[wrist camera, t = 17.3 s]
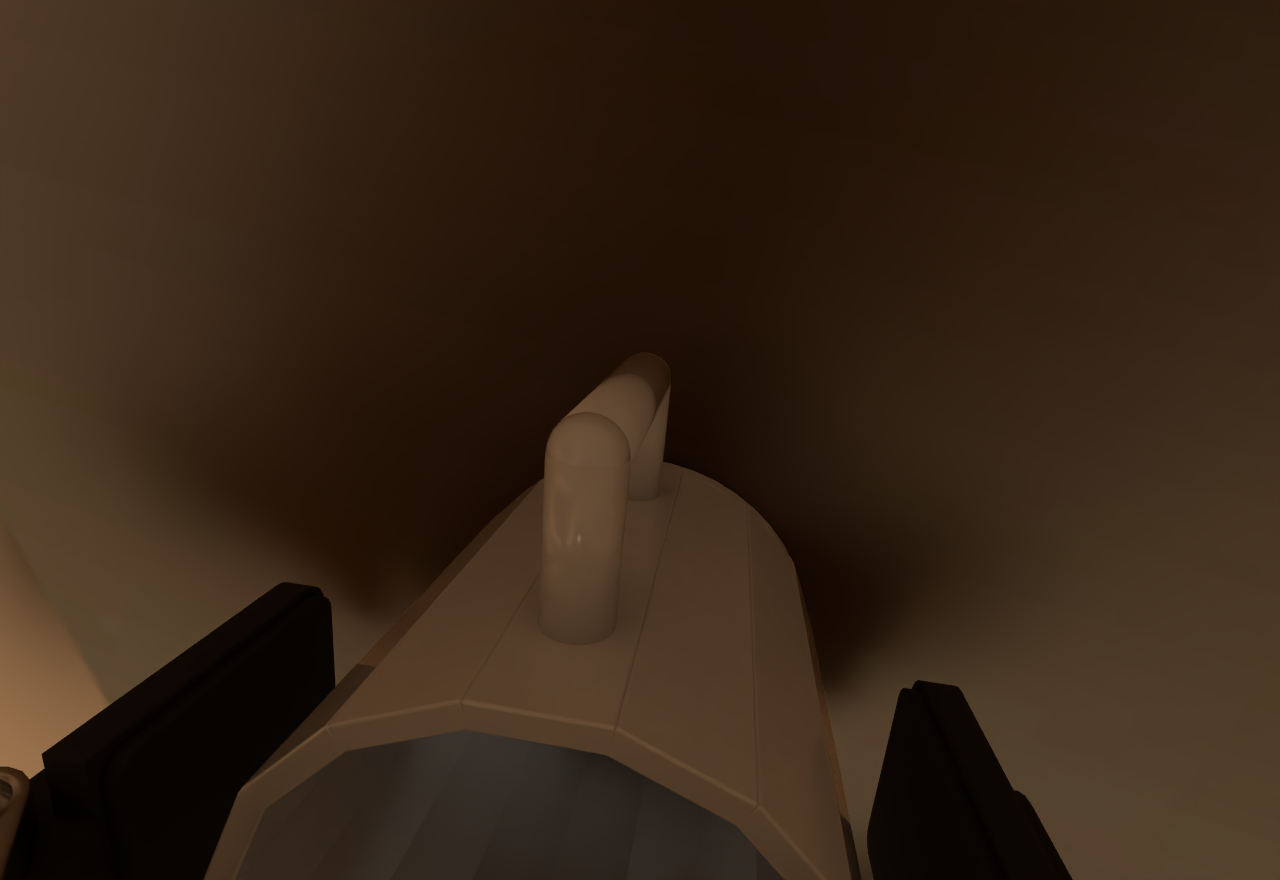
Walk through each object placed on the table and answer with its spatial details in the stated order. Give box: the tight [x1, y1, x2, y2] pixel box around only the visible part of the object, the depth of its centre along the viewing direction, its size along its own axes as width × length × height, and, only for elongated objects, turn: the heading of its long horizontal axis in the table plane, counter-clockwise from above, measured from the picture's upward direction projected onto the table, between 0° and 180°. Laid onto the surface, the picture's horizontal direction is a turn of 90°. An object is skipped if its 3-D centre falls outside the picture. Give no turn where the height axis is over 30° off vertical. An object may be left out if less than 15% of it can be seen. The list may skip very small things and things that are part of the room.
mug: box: [204, 352, 861, 880], centre depth 9 cm, size 9×7×7 cm
